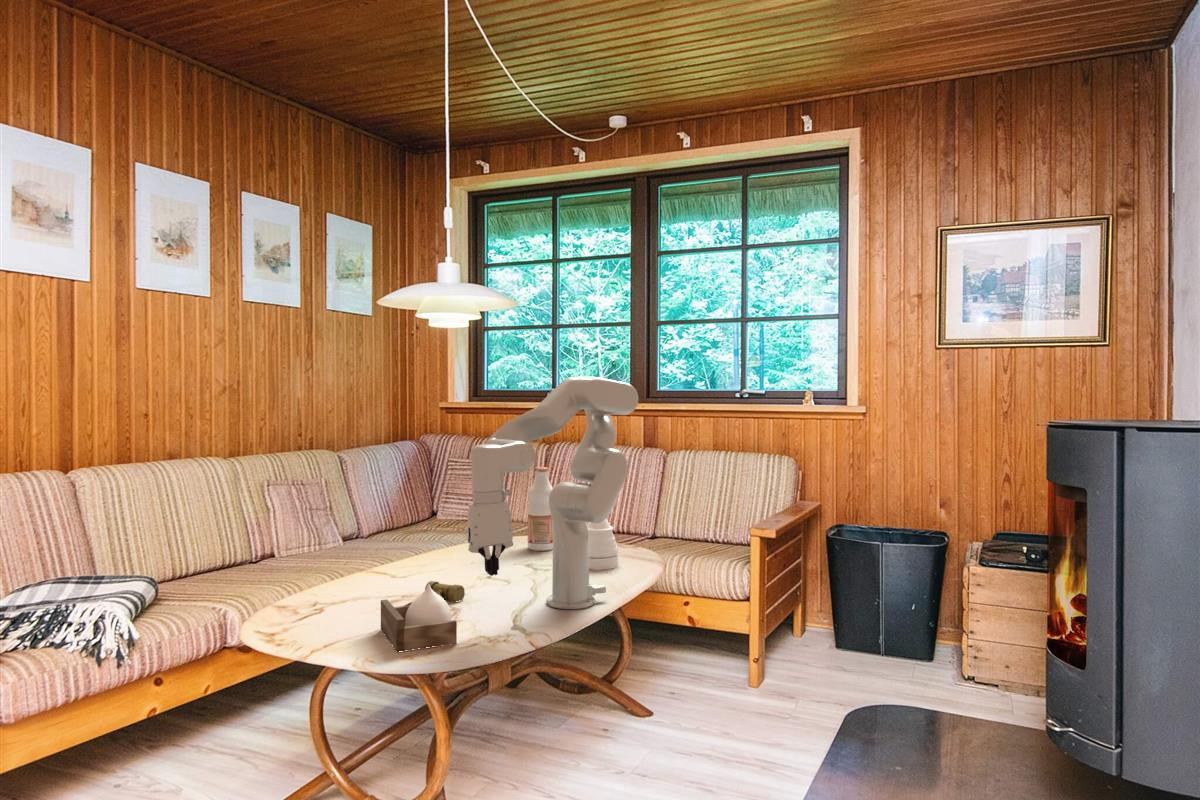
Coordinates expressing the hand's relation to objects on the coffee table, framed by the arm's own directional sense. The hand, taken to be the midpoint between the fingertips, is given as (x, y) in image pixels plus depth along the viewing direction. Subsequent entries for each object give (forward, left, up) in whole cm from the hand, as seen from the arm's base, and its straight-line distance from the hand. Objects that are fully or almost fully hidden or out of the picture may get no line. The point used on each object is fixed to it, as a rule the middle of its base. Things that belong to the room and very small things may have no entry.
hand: (492, 573), depth 187 cm
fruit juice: (-44, -76, -13) cm, 88 cm away
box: (+18, 0, -12) cm, 22 cm away
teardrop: (+15, 0, -13) cm, 20 cm away
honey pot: (-51, -46, -13) cm, 69 cm away
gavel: (+10, -23, -13) cm, 28 cm away
